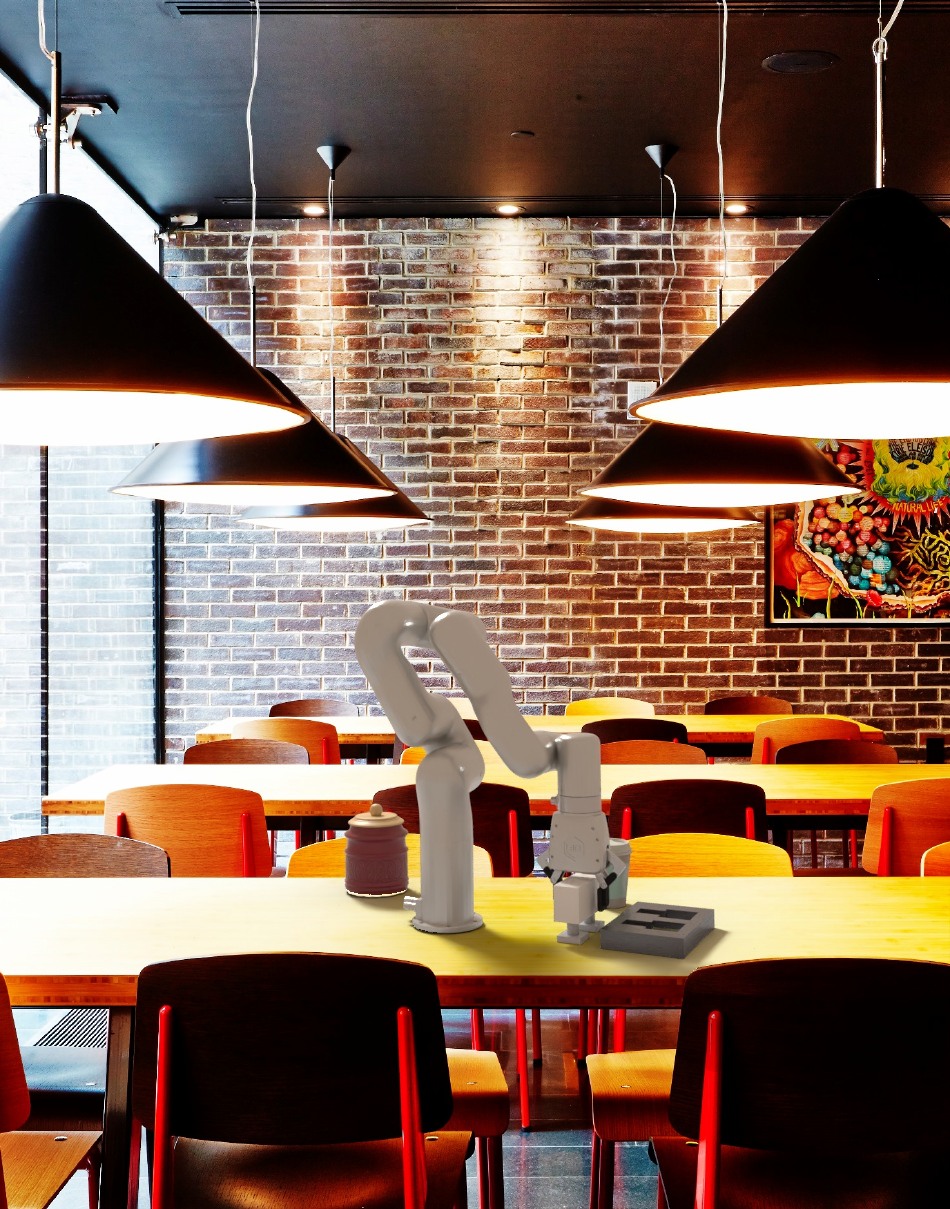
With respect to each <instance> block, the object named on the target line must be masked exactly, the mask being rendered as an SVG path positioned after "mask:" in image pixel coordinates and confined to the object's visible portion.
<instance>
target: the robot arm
mask: <svg viewBox="0 0 950 1209" xmlns="http://www.w3.org/2000/svg"><path fill="white" fill-rule="evenodd" d="M487 634H488V633H487V629H486V625H485V623H484V622H483V620H482V618H480V617H479V616H478V615H476V614H475V613H473V612H471V611H466V610H460V609H452V608H448V607H443V606H438V605H432V604H429V603H423V602H418V601H412V600H398V599H386V600H382V601H381V600H380V601H378V602H376V603H374V604H372V605H371V606H370V607H369V608H367V609H366V611H365V612H364V613H363V615H362V616H361V618H360V619H359V620H358V623H357V624H356V628H355V633H354V640H353V643H354V644H353V645H354V652H355V656H356V660H357V662H358V665H359V668H360V669H361V671H362V674H363V675H364V676H365V678H366V680H367V682H368V683H369V685H370V687H371V690H372V691H373V693H374V695H375V697H376V699H377V701H378V703H379V705H380V706H381V709H382V710H383V713H384V714H385V715H386V717H387V720H388V722H389V724H390V725H391V727H392V729H393V730H394V734H396V736H397V737H398V739H399V741H400V742H401V743H403V744H404V745H405V746H407V747H409V748H410V747H411V748H423V750H424V752H425V754H426V755H425V756H423V758H422V759H421V761H420V762H419V764H418V766H417V770H416V774H415V790H416V791H415V792H416V798H417V803H418V811H419V812H418V813H419V814H418V815H419V845H420V846H419V847H420V848H419V849H420V850H419V852H420V854H419V855H420V856H419V857H420V862H419V863H420V865H419V866H420V867H419V868H420V897H414V896H405V897H404V899H403V905H402V908H403V909H404V911H405V910H406V911H414V912H415V915H414V916H413V917H412V920H411V922H412V926H413V925H414V926H413V927H414V928H415V927H416V928H415V929H417V930H419V929H421V930H420V931H422V930H425V931H424V932H426V931H428V932H427V933H433V932H437V933H436V934H455V933H456V934H458V933H465V932H468V931H469V932H470V931H473V930H477V929H479V928H480V927H481V926H483V923H484V922H483V916H482V914H480V913H478V912H475V897H474V896H475V892H474V890H475V889H474V888H475V887H474V886H475V885H474V884H475V883H474V881H475V879H474V877H475V876H474V873H475V872H474V830H473V829H474V825H473V812H472V806H471V799H470V793H471V792H472V791H474V790H476V788H478V787H479V786H480V785H481V783H482V782H483V780H484V778H485V777H484V776H485V774H486V763H485V760H484V759H485V758H484V757H483V754H482V752H481V750H480V748H479V746H478V744H477V743H476V741H475V739H474V738H473V735H472V734H471V732H470V730H469V729H468V726H467V725H466V723H465V721H464V719H463V718H462V716H461V714H460V713H459V711H458V709H457V707H456V706H455V705H454V704H453V702H451V700H449V699H448V697H445V696H444V695H442V694H440V693H436V692H429V691H428V690H427V688H425V685H424V684H423V683H422V680H421V679H420V677H419V675H418V673H417V671H416V669H415V668H414V666H413V665H412V664H411V662H410V661H409V659H408V658H407V656H405V654H404V652H403V650H402V646H405V647H406V646H407V647H415V648H419V649H423V650H425V649H426V650H430V651H434V652H435V653H436V655H437V656H438V657H439V659H440V660H441V662H442V663H443V665H444V666H445V667H446V669H447V670H448V671H449V673H450V675H451V676H452V677H453V679H455V680H454V681H456V683H457V685H458V686H459V687H460V689H461V690H462V692H463V693H464V694H465V696H466V697H467V698H468V701H469V702H470V704H471V707H472V710H473V712H474V715H475V717H476V718H477V722H478V723H479V725H480V728H481V730H482V732H483V733H484V736H485V737H486V739H487V741H488V742H489V744H490V745H491V746H492V748H493V749H494V750H495V752H496V754H497V755H498V756H499V758H500V760H501V761H502V763H504V765H505V766H506V767H507V768H508V769H509V771H511V773H513V774H514V775H515V776H517V777H519V778H522V779H525V780H526V779H527V780H529V779H530V780H531V779H536V778H538V777H540V776H542V775H543V774H547V773H549V772H557V794H556V795H555V796H551V797H550V804H551V805H555V806H556V811H553V813H552V818H551V824H550V825H551V826H550V832H549V841H548V848H547V849H546V850H545V851H544V852H542V853H541V854H540V855H538V856H537V857H536V858H535V860H536V862H537V864H538V866H539V867H540V869H542V872H543V873H544V875H545V876H546V877H548V879H549V882H550V883H551V884H552V887H553V886H554V885H555V884H557V883H559V882H561V881H562V880H564V879H563V877H564V875H565V873H573V874H575V873H585V874H594V875H595V877H596V879H597V881H598V883H599V888H598V889H597V910H598V912H599V913H602V912H604V911H606V910H607V909H608V908H607V906H609V886H610V885H611V884H612V883H613V882H614V881H615V880H616V879H617V878H618V877H619V875H620V874H621V873H622V872H623V870H624V869H625V868H626V864H625V863H624V862H623V861H622V860H621V859H620V858H619V857H617V856H616V855H615V854H614V853H613V852H612V851H611V850H610V839H609V838H610V833H609V827H608V822H607V817H606V813H605V812H603V811H602V773H601V772H602V770H601V769H602V768H601V764H602V763H601V758H602V757H601V756H602V755H601V740H600V737H598V736H597V735H596V734H594V733H589V732H568V733H561V732H555V731H554V732H553V731H548V730H541V729H540V730H539V729H538V730H533V728H532V727H531V726H530V725H529V723H528V722H527V720H526V718H524V716H523V714H522V713H521V711H520V709H519V707H518V705H517V703H516V701H515V699H514V698H515V697H514V695H513V690H512V689H513V687H512V686H513V685H512V678H511V675H510V673H509V671H508V670H507V668H506V667H505V666H504V664H503V662H502V661H501V660H500V659H499V658H498V656H497V655H496V654H495V652H494V650H493V649H492V648H491V646H490V645H489V644H488V642H487V638H488V635H487ZM611 863H612V864H613V865H614V870H613V871H612V873H610V874H608V872H607V870H606V869H607V868H609V867H610V864H611ZM552 900H553V901H554V894H553V893H552Z"/></svg>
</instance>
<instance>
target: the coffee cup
mask: <svg viewBox="0 0 950 1209" xmlns="http://www.w3.org/2000/svg"><path fill="white" fill-rule="evenodd" d="M609 839H610V850H611V851H612V852H613V853H614V854H615V855H616V856H617V857H619V858H620V859H621V860H622V861H623V862H624V863H625V864H626V868H625V869H624V870H623V872H622V873H621V874H620V875H619V877H618V878H617V879H616V880H615V881H614V882H613V883H612V884H611V885H610V886H609V906H607V909H621V908H624V907H626V903H627V896H628V886H629V885H628V884H629V875H630V874H629V872H630V862H631V854H632V853H633V850H632V847H631V844H630V841H629V840H626V839H624V838H613V837H609ZM606 870H607V872H608V874H610V873H612V871H613V870H614V865H613V864H612V863H611V864H610V867H609V868H607V869H606Z"/></svg>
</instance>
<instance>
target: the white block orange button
mask: <svg viewBox="0 0 950 1209" xmlns="http://www.w3.org/2000/svg"><path fill="white" fill-rule="evenodd" d="M598 888H599V883H598V881H597V879H596V877H595V875H594V874H585V873H573V874H571V875H570V876H568V877H566V878H564V879H563V880H562V881H561V882H559V883H557V884H555V885H554V886H553V885H552V895H553V894H554V900H553V922H555V923H565V924H566V929H565V930H563V931H562V932H561V933H559V934H558V935H556V942H557V943H563V944H574V945H582V944H583V943H584V942H586V941H587V940H589V939H590V932H591V933H598V932H599V931H600V929H601V928H603V927H604V926H605V925H606V924H605V922H606V920H601V919H596V913H597V912H599V911H598V910H597V889H598Z"/></svg>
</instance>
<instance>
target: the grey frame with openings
mask: <svg viewBox="0 0 950 1209" xmlns="http://www.w3.org/2000/svg"><path fill="white" fill-rule="evenodd" d="M715 927H716V924H715V908H705V907H696V906H685V905H678V904H677V905H676V904H667V903H666V904H665V903H658V902H657V903H656V902H655V903H654V902H647V901H646V902H645V901H637V902H635V903H634V904H632V905H631V906H629V907H628V908H626V909H625V910H624V911H622V912H621V913H620V914H619V915H617V916H616V917H615V918H613V919H612V920H611V921H609V922H608V923H607V924H605V926H604V927H603V928H601V929H600V930H599V931H600V932H599V933H600V936H599V937H600V949H602V950H609V951H617V952H624V953H632V952H633V954H642V955H648V956H649V955H651V956H658V957H666V958H675V959H682V960H683V959H684V960H685V958H686V957H687V956H688V955H689V954H690V953H691V952H692V951H693V950H694V949H695V948H696V947H697V946H698V945H699V944H700V943H701V942H703V940H704V939H705V938H706V937H707V936H708V935H709V934H710V933H711V932H712V931H713V930H714V929H715ZM654 928H656V929H654ZM657 928H658V929H657ZM659 929H665V930H659ZM666 929H667V930H666ZM669 930H673V931H669ZM674 930H676V931H674Z"/></svg>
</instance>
